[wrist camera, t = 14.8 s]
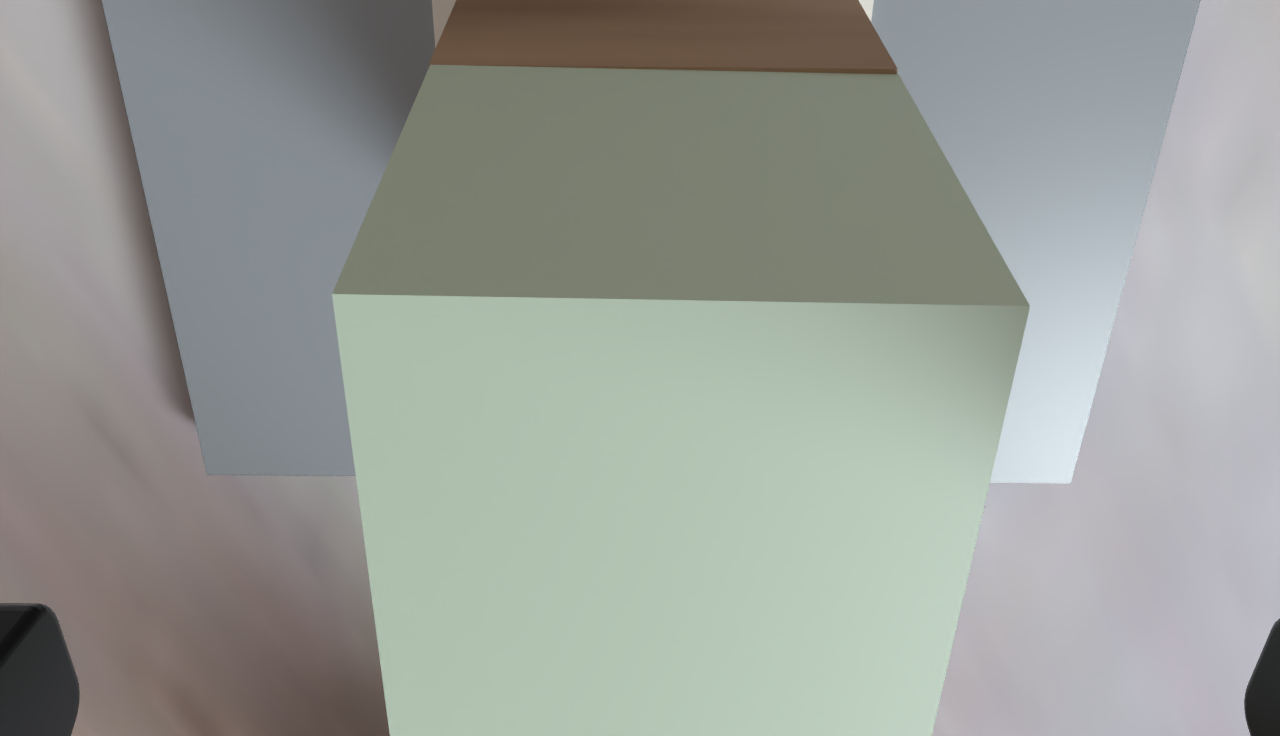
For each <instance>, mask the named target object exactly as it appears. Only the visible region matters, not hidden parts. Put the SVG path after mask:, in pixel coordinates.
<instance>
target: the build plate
mask: <svg viewBox="0 0 1280 736" xmlns="http://www.w3.org/2000/svg"><path fill="white" fill-rule="evenodd" d="M455 2H456V0H102V4H103V9H104V13H105V18H106V22H107V27H108V31H109V36H110V40H111V45H112V49H113V54H114V58H115V63H116V67H117V72H118V76H119V81H120V85H121V90H122V94H123V99H124V103H125V108H126V112H127V117H128V121H129V126H130V130H131V135H132V139H133V144H134V148H135V153H136V157H137V162H138V166H139V171H140V175H141V180H142V184H143V189H144V193H145V198H146V202H147V207H148V211H149V216H150V220H151V225H152V229H153V234H154V238H155V243H156V247H157V252H158V256H159V261H160V265H161V270H162V274H163V279H164V283H165V288H166V292H167V297H168V301H169V306H170V310H171V315H172V319H173V324H174V328H175V333H176V337H177V342H178V346H179V351H180V355H181V360H182V364H183V369H184V373H185V378H186V382H187V387H188V391H189V396H190V400H191V405H192V409H193V414H194V418H195V423H196V427H197V432H198V436H199V441H200V445H201V450H202V454H203V459H204V463H205V468H206V472H207V475H290V476H356V474H355V466H354V459H353V451H352V444H351V436H350V428H349V421H348V413H347V405H346V398H345V390H344V382H343V375H342V367H341V360H340V352H339V344H338V337H337V329H336V321H335V314H334V306H333V298H332V293H333V290H334V288H335V286H336V283H337V281H338V279H339V276H340V274H341V272H342V269H343V267H344V265H345V262H346V260H347V258H348V255H349V253H350V251H351V248H352V246H353V244H354V241H355V239H356V237H357V234H358V232H359V230H360V227H361V225H362V223H363V220H364V218H365V216H366V213H367V211H368V209H369V206H370V204H371V202H372V199H373V197H374V195H375V192H376V190H377V188H378V185H379V183H380V181H381V178H382V176H383V174H384V171H385V169H386V167H387V164H388V162H389V160H390V157H391V155H392V153H393V150H394V148H395V146H396V143H397V141H398V139H399V136H400V134H401V132H402V129H403V127H404V125H405V122H406V120H407V118H408V115H409V113H410V111H411V108H412V106H413V104H414V102H415V99H416V97H417V95H418V92H419V90H420V88H421V85H422V83H423V81H424V78H425V76H426V74H427V71H428V69H429V62H430V60H431V58H432V55H433V53H434V51H435V48H436V46H437V44H438V41H439V39H440V37H441V34H442V32H443V30H444V27H445V25H446V23H447V21H448V18H449V16H450V14H451V11H452V9H453V7H454V4H455ZM859 2H860V4H861V6H862V7H863V9H864V11H865V13H866V14H867V16H868V18H869V20H870V21H871V23H872V25H873V27H874V28H875V30H876V32H877V34H878V35H879V37H880V39H881V41H882V42H883V44H884V46H885V48H886V49H887V51H888V53H889V55H890V56H891V58H892V60H893V61H894V63H895V65H896V67H897V68H898V71H897V74H899V76H900V78H901V79H902V81H903V83H904V85H905V86H906V88H907V90H908V92H909V93H910V95H911V97H912V99H913V101H914V102H915V104H916V106H917V108H918V109H919V111H920V113H921V115H922V116H923V118H924V120H925V122H926V123H927V125H928V127H929V129H930V130H931V132H932V134H933V136H934V138H935V139H936V141H937V143H938V145H939V146H940V148H941V150H942V152H943V153H944V155H945V157H946V159H947V160H948V162H949V164H950V166H951V167H952V169H953V171H954V173H955V175H956V176H957V178H958V180H959V182H960V183H961V185H962V187H963V189H964V190H965V192H966V194H967V196H968V197H969V199H970V201H971V203H972V205H973V206H974V208H975V210H976V212H977V213H978V215H979V217H980V219H981V220H982V222H983V224H984V226H985V227H986V229H987V231H988V233H989V234H990V236H991V238H992V240H993V242H994V243H995V245H996V247H997V249H998V250H999V252H1000V254H1001V256H1002V257H1003V259H1004V261H1005V263H1006V264H1007V266H1008V268H1009V270H1010V271H1011V273H1012V275H1013V277H1014V279H1015V280H1016V282H1017V284H1018V286H1019V287H1020V289H1021V291H1022V293H1023V294H1024V296H1025V298H1026V300H1027V301H1028V303H1029V305H1030V309H1029V314H1028V318H1027V322H1026V327H1025V331H1024V335H1023V340H1022V344H1021V348H1020V353H1019V357H1018V362H1017V366H1016V370H1015V375H1014V379H1013V383H1012V388H1011V392H1010V396H1009V401H1008V405H1007V409H1006V414H1005V418H1004V422H1003V427H1002V431H1001V436H1000V440H999V444H998V449H997V453H996V457H995V462H994V466H993V470H992V475H991V479H990V483H1071V480H1072V476H1073V473H1074V469H1075V465H1076V462H1077V458H1078V454H1079V450H1080V447H1081V443H1082V439H1083V436H1084V432H1085V428H1086V424H1087V421H1088V417H1089V413H1090V410H1091V406H1092V402H1093V398H1094V395H1095V391H1096V387H1097V383H1098V380H1099V376H1100V372H1101V369H1102V365H1103V361H1104V357H1105V354H1106V350H1107V346H1108V343H1109V339H1110V335H1111V331H1112V328H1113V324H1114V320H1115V317H1116V313H1117V309H1118V305H1119V302H1120V298H1121V294H1122V291H1123V287H1124V283H1125V279H1126V276H1127V272H1128V268H1129V264H1130V261H1131V257H1132V253H1133V250H1134V246H1135V242H1136V238H1137V235H1138V231H1139V227H1140V224H1141V220H1142V216H1143V212H1144V209H1145V205H1146V201H1147V198H1148V194H1149V190H1150V186H1151V183H1152V179H1153V175H1154V172H1155V168H1156V164H1157V160H1158V157H1159V153H1160V149H1161V145H1162V142H1163V138H1164V134H1165V131H1166V127H1167V123H1168V119H1169V116H1170V112H1171V108H1172V105H1173V101H1174V97H1175V93H1176V90H1177V86H1178V82H1179V79H1180V75H1181V71H1182V67H1183V64H1184V60H1185V56H1186V53H1187V49H1188V45H1189V41H1190V38H1191V34H1192V30H1193V26H1194V23H1195V19H1196V15H1197V12H1198V8H1199V4H1200V0H859Z"/></svg>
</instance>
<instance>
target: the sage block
mask: <svg viewBox="0 0 1280 736" xmlns="http://www.w3.org/2000/svg"><path fill="white" fill-rule="evenodd" d="M332 298H333V306H334V314H335V321H336V329H337V337H338V344H339V352H340V360H341V367H342V375H343V382H344V390H345V398H346V405H347V413H348V421H349V428H350V436H351V444H352V451H353V459H354V466H355V474H356V482H357V489H358V497H359V505H360V512H361V520H362V527H363V535H364V543H365V550H366V558H367V566H368V573H369V581H370V589H371V596H372V604H373V611H374V619H375V627H376V634H377V642H378V650H379V657H380V665H381V673H382V680H383V688H384V695H385V703H386V711H387V718H388V726H389V734H390V736H932V732H933V727H934V723H935V719H936V714H937V710H938V706H939V701H940V697H941V692H942V688H943V684H944V679H945V675H946V671H947V666H948V662H949V658H950V653H951V649H952V645H953V640H954V636H955V631H956V627H957V623H958V618H959V614H960V610H961V605H962V601H963V597H964V592H965V588H966V584H967V579H968V575H969V571H970V566H971V562H972V557H973V553H974V549H975V544H976V540H977V536H978V531H979V527H980V523H981V518H982V514H983V510H984V505H985V501H986V497H987V492H988V488H989V483H990V479H991V475H992V470H993V466H994V462H995V457H996V453H997V449H998V444H999V440H1000V436H1001V431H1002V427H1003V422H1004V418H1005V414H1006V409H1007V405H1008V401H1009V396H1010V392H1011V388H1012V383H1013V379H1014V375H1015V370H1016V366H1017V362H1018V357H1019V353H1020V348H1021V344H1022V340H1023V335H1024V331H1025V327H1026V322H1027V318H1028V314H1029V309H1030V305H1029V303H1028V301H1027V300H1026V298H1025V296H1024V294H1023V293H1022V291H1021V289H1020V287H1019V286H1018V284H1017V282H1016V280H1015V279H1014V277H1013V275H1012V273H1011V271H1010V270H1009V268H1008V266H1007V264H1006V263H1005V261H1004V259H1003V257H1002V256H1001V254H1000V252H999V250H998V249H997V247H996V245H995V243H994V242H993V240H992V238H991V236H990V234H989V233H988V231H987V229H986V227H985V226H984V224H983V222H982V220H981V219H980V217H979V215H978V213H977V212H976V210H975V208H974V206H973V205H972V203H971V201H970V199H969V197H968V196H967V194H966V192H965V190H964V189H963V187H962V185H961V183H960V182H959V180H958V178H957V176H956V175H955V173H954V171H953V169H952V167H951V166H950V164H949V162H948V160H947V159H946V157H945V155H944V153H943V152H942V150H941V148H940V146H939V145H938V143H937V141H936V139H935V138H934V136H933V134H932V132H931V130H930V129H929V127H928V125H927V123H926V122H925V120H924V118H923V116H922V115H921V113H920V111H919V109H918V108H917V106H916V104H915V102H914V101H913V99H912V97H911V95H910V93H909V92H908V90H907V88H906V86H905V85H904V83H903V81H902V79H901V78H900V76H899V74H852V73H804V72H757V71H709V70H662V69H614V68H567V67H519V66H472V65H430V67H429V69H428V71H427V74H426V76H425V78H424V81H423V83H422V85H421V88H420V90H419V92H418V95H417V97H416V99H415V102H414V104H413V106H412V108H411V111H410V113H409V115H408V118H407V120H406V122H405V125H404V127H403V129H402V132H401V134H400V136H399V139H398V141H397V143H396V146H395V148H394V150H393V153H392V155H391V157H390V160H389V162H388V164H387V167H386V169H385V171H384V174H383V176H382V178H381V181H380V183H379V185H378V188H377V190H376V192H375V195H374V197H373V199H372V202H371V204H370V206H369V209H368V211H367V213H366V216H365V218H364V220H363V223H362V225H361V227H360V230H359V232H358V234H357V237H356V239H355V241H354V244H353V246H352V248H351V251H350V253H349V255H348V258H347V260H346V262H345V265H344V267H343V269H342V272H341V274H340V276H339V279H338V281H337V283H336V286H335V288H334V290H333V293H332Z"/></svg>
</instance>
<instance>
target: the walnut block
mask: <svg viewBox="0 0 1280 736" xmlns="http://www.w3.org/2000/svg"><path fill="white" fill-rule="evenodd" d="M430 65H472V66H519V67H567V68H614V69H662V70H709V71H757V72H804V73H852V74H897V71H898V68H897V67H896V65H895V63H894V61H893V60H892V58H891V56H890V55H889V53H888V51H887V49H886V48H885V46H884V44H883V42H882V41H881V39H880V37H879V35H878V34H877V32H876V30H875V28H874V27H873V25H872V23H871V21H870V20H869V18H868V16H867V14H866V13H865V11H864V9H863V7H862V6H861V4H860V2H859V0H456V2H455V4H454V7H453V9H452V11H451V14H450V16H449V18H448V21H447V23H446V25H445V27H444V30H443V32H442V34H441V37H440V39H439V41H438V44H437V46H436V48H435V51H434V53H433V55H432V58H431V60H430V62H429V67H430Z"/></svg>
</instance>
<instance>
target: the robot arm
mask: <svg viewBox="0 0 1280 736" xmlns="http://www.w3.org/2000/svg"><path fill="white" fill-rule="evenodd" d="M79 693H80V692H79V683H78V679H77V675H76V672H75V669H74V666H73V663H72V661H71V658H70V655H69V652H68V649H67V646H66V643H65V640H64V637H63V634H62V631H61V628H60V625H59V622H58V619H57V617H56V615H55V613H54V612H53V611H52V610H51V609H50V608H49V607H48V606H46V605H42V604H32V603H0V736H71V734H72V730H73V727H74V724H75V720H76V716H77V712H78V707H79ZM1244 704H1245V716H1246V721H1247V725H1248V729H1249V732H1250V735H1251V736H1280V619H1279V620H1278V621H1276V622H1275V624H1274V625H1273V627H1272V629H1271V631H1270V634H1269V636H1268V639H1267V641H1266V643H1265V646H1264V648H1263V650H1262V653H1261V655H1260V657H1259V660H1258V662H1257V664H1256V667H1255V669H1254V671H1253V674H1252V676H1251V679H1250V681H1249V683H1248V686H1247V689H1246V693H1245V700H1244Z"/></svg>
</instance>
